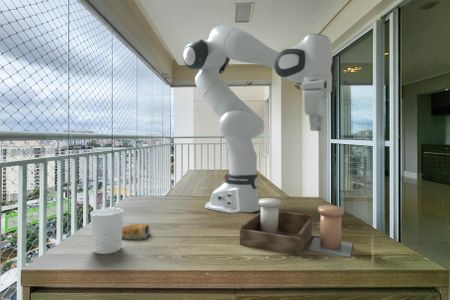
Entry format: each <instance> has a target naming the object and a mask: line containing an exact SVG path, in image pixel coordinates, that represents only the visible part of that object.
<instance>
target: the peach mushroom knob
mask: <svg viewBox="0 0 450 300" xmlns="http://www.w3.org/2000/svg"><path fill="white" fill-rule="evenodd" d="M317 213H318V214H319V215H320V217H319V219H320V220H319V221H320V222H319V223H320V225H319V229H320V232H319V236H320V237H319V238H320V246H321V247H323V248H326V249H332V250H336V249H340V248H341V241H342V216H343V215H344V214H345V208H344V207H343V206H338V205H330V204H327V205H326V204H324V205H319V206H317Z"/></svg>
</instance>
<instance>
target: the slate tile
mask: <svg viewBox="0 0 450 300" xmlns="http://www.w3.org/2000/svg"><path fill="white" fill-rule="evenodd" d="M353 245H354V244H353V242H348V241H342V240H341V248H340V249H336V250H332V249H326V248H323V247H321V246H320V237H313V239H312V240H311V242H310V244H309V246H308V248H307V251H309V252H314V253H315V252H316V253H320V254H327V255H332V256H339V257H344V258H350V259H351V256H352V249H353Z"/></svg>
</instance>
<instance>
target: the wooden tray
mask: <svg viewBox="0 0 450 300" xmlns="http://www.w3.org/2000/svg"><path fill="white" fill-rule="evenodd" d="M260 221H261V208H260V209H259V210H258V213H256V214H255V215H253V216H252V217H251V218H249V219H248V220H246V221H245V222H243V223H242V224H240V229H239V245H241V246H247V247H250V248H251V247H252V248H258V249H263V250H267V251H268V250H269V251H273V252H280V253H286V254H291V255H297V256H301V255H302V254H303V252H304V250H305V248H306V247H307V245H308V243H309V241H310V239H311V238H312V236H313V214H308V213H305V214H304V213H299V212H291V211H290V212H289V211H281V210H279V211H278V234H272V233H265V232H260Z"/></svg>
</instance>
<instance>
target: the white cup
mask: <svg viewBox="0 0 450 300" xmlns="http://www.w3.org/2000/svg"><path fill="white" fill-rule="evenodd" d="M90 223H91V224H90V225H91V237H92V240H91V241H92V245H93V249H92V250H93V253H95V254H97V255H108V254H113V253H116V252H118V251H120V250H121V249H122V244H123V243H122V242H123V240H122V239H123V238H122V231H123V227H124V209H123V208H120V207H102V208H98V209H97V208H96V209H94V210H92V211H90Z"/></svg>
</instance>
